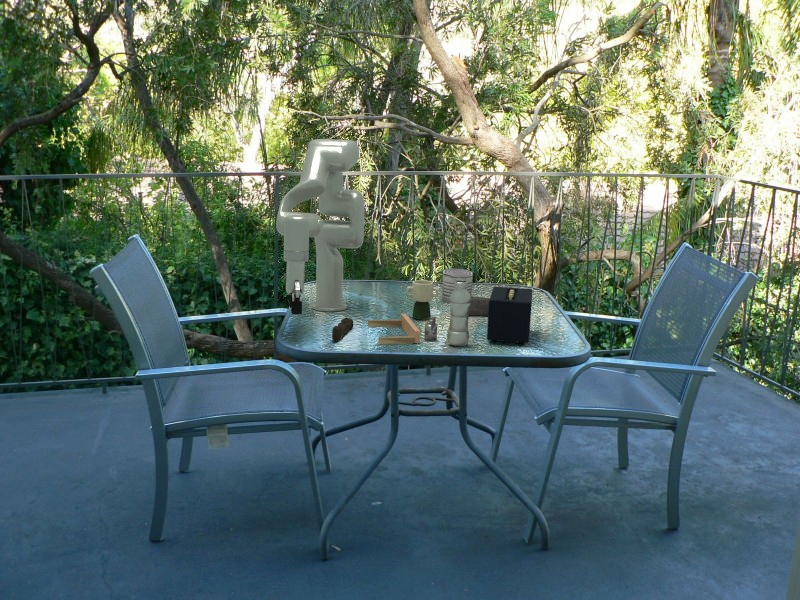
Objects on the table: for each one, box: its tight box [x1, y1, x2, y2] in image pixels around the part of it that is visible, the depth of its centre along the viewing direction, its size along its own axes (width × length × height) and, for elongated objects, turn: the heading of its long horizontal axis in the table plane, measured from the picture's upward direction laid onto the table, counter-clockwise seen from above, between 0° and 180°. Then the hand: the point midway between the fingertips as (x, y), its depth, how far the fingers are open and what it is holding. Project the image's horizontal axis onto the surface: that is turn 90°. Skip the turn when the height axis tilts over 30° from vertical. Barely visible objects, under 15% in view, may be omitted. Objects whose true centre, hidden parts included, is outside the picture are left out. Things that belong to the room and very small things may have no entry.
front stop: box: [400, 313, 421, 345], centre depth 267 cm, size 23×2×4 cm, turn 11°
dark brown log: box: [331, 317, 354, 343], centre depth 263 cm, size 19×4×5 cm, turn 168°
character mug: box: [406, 279, 439, 320], centre depth 287 cm, size 11×7×13 cm, turn 88°
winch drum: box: [423, 316, 439, 342], centre depth 260 cm, size 6×4×8 cm, turn 11°
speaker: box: [486, 286, 534, 346], centre depth 266 cm, size 22×13×15 cm, turn 170°
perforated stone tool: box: [469, 295, 490, 317], centre depth 296 cm, size 15×5×7 cm, turn 91°
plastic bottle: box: [446, 280, 471, 347], centre depth 255 cm, size 6×7×20 cm
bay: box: [367, 319, 415, 345], centre depth 266 cm, size 23×11×2 cm, turn 11°
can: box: [441, 268, 474, 305], centre depth 315 cm, size 11×11×12 cm
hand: (295, 310), depth 258 cm, fingers open, 9 cm apart
